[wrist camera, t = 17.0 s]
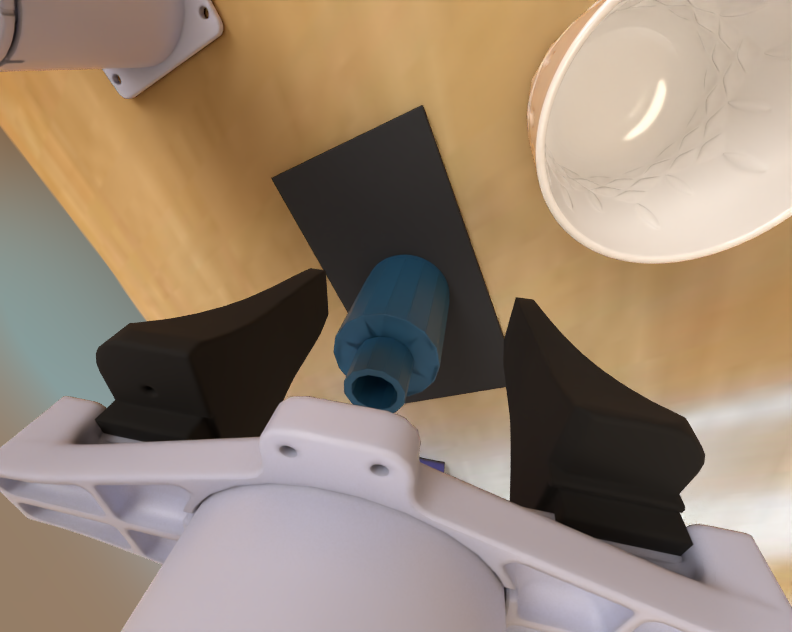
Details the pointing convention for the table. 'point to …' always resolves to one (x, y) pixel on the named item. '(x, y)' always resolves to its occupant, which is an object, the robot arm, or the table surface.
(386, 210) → the mat
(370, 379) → the bottle
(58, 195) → the table surface
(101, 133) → the table surface
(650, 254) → the white cup
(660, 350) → the table surface
